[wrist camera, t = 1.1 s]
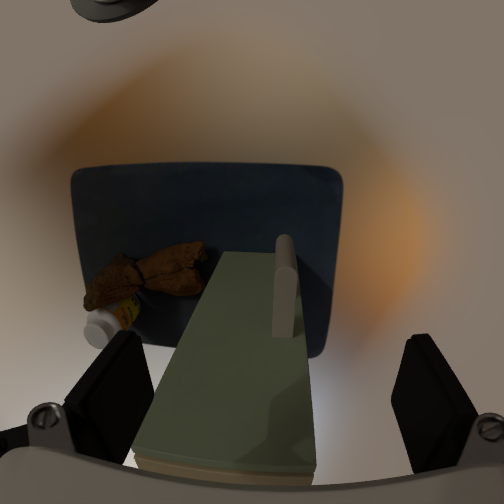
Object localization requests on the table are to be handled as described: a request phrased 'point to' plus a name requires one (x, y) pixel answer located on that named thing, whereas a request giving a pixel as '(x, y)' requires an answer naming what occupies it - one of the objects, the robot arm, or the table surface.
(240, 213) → the table surface
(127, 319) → the supplement bottle
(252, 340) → the cabinet door
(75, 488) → the robot arm
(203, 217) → the table surface
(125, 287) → the sculpture
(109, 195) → the table surface
